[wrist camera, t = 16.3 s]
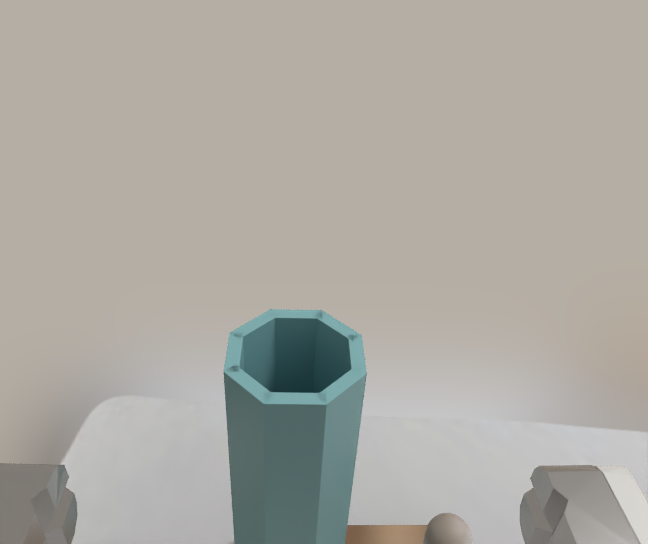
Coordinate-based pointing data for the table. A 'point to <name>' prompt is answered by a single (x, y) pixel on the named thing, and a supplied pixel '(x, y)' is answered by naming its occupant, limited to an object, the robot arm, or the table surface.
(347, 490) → the sleeve
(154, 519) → the table surface
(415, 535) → the pin board
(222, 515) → the table surface
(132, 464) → the table surface
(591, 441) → the table surface
